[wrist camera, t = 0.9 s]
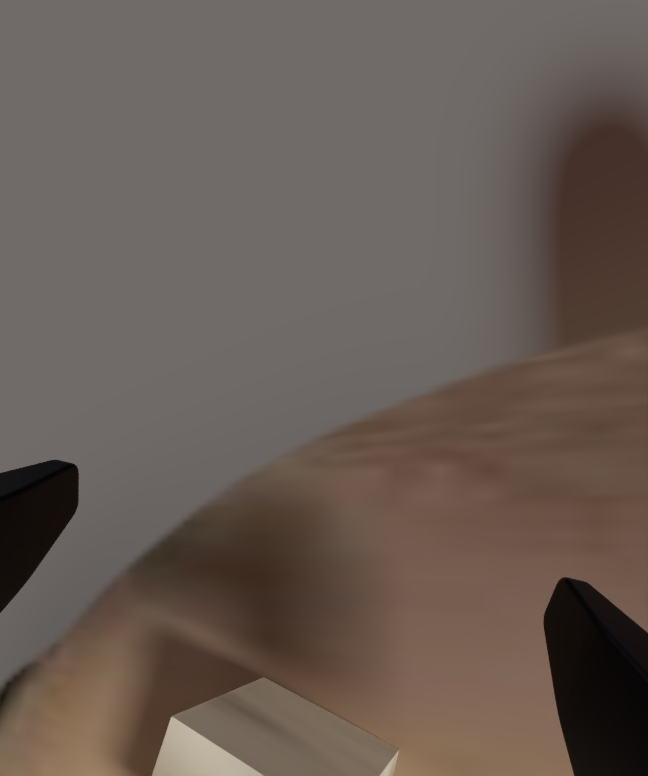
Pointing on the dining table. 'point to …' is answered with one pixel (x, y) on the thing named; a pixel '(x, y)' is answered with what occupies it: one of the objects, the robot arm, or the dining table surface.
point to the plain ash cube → (268, 738)
